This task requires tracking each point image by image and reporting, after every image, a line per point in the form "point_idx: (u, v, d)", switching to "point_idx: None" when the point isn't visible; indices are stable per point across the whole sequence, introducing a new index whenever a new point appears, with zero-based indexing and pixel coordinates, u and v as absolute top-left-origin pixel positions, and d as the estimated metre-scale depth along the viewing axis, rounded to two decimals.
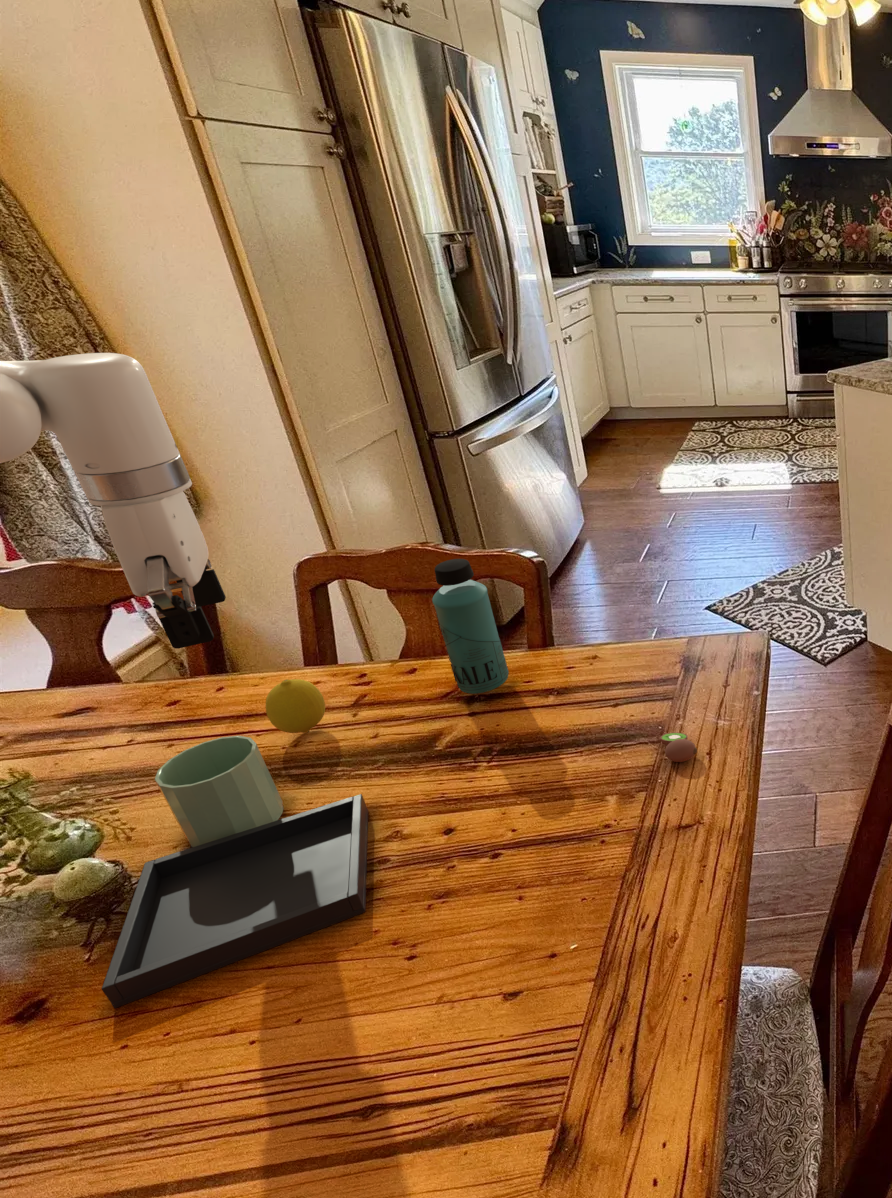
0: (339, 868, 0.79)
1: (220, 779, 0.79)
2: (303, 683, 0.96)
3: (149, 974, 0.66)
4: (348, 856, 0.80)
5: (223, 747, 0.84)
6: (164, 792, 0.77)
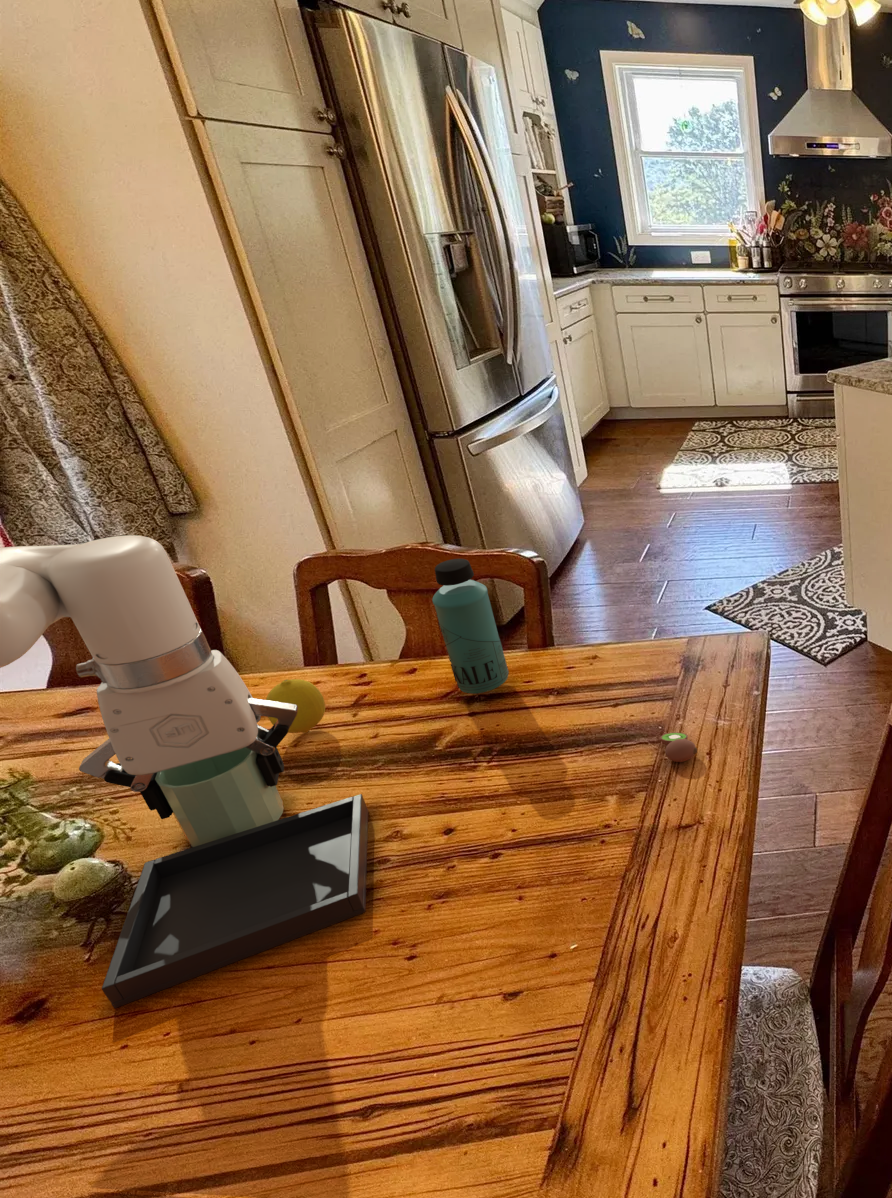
0: (339, 868, 0.79)
1: (220, 779, 0.79)
2: (303, 683, 0.96)
3: (149, 974, 0.66)
4: (348, 856, 0.80)
5: None
6: (164, 792, 0.77)
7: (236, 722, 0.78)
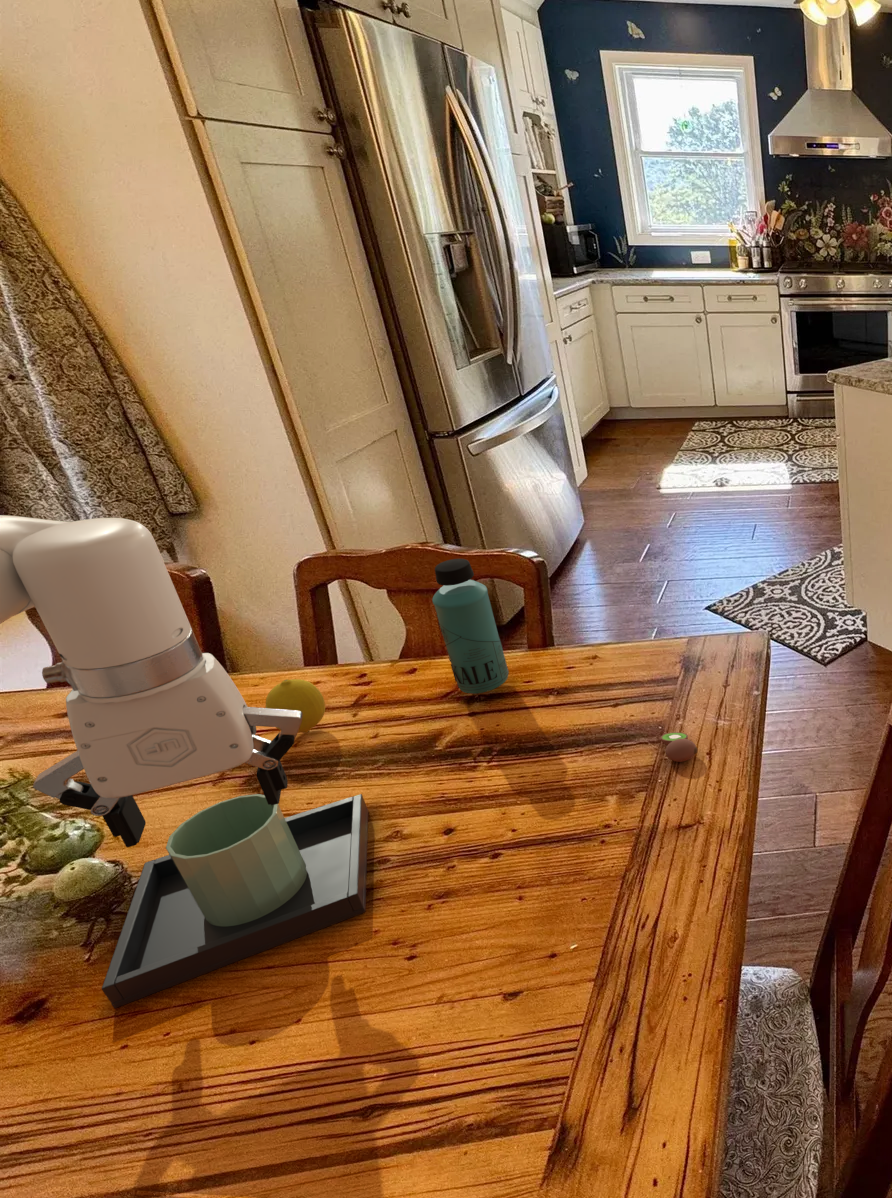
0: (339, 868, 0.79)
1: (239, 847, 0.70)
2: (303, 683, 0.96)
3: (149, 974, 0.66)
4: (348, 856, 0.80)
5: (241, 806, 0.76)
6: (176, 863, 0.69)
7: (229, 737, 0.68)
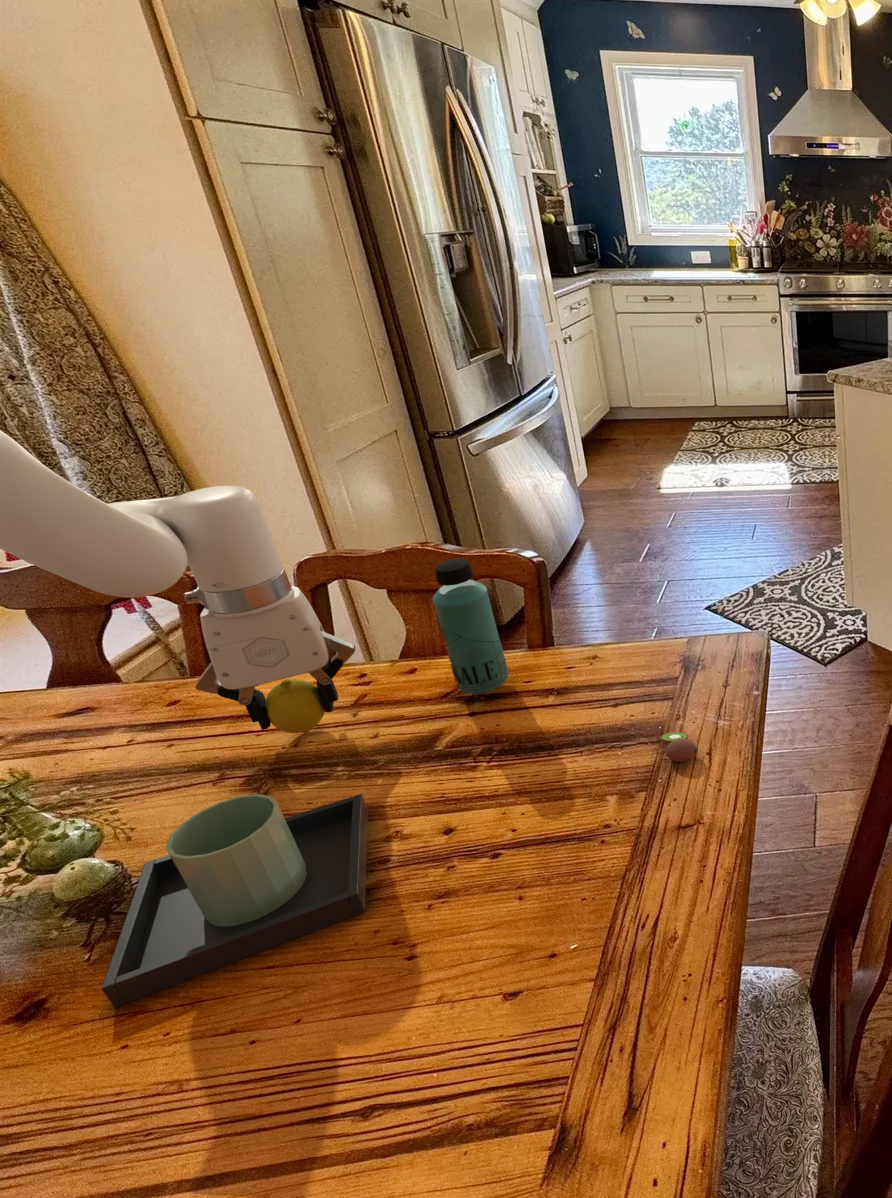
0: (339, 868, 0.79)
1: (239, 847, 0.70)
2: (303, 683, 0.96)
3: (149, 974, 0.66)
4: (348, 856, 0.80)
5: (241, 806, 0.76)
6: (176, 863, 0.69)
7: (312, 647, 0.93)
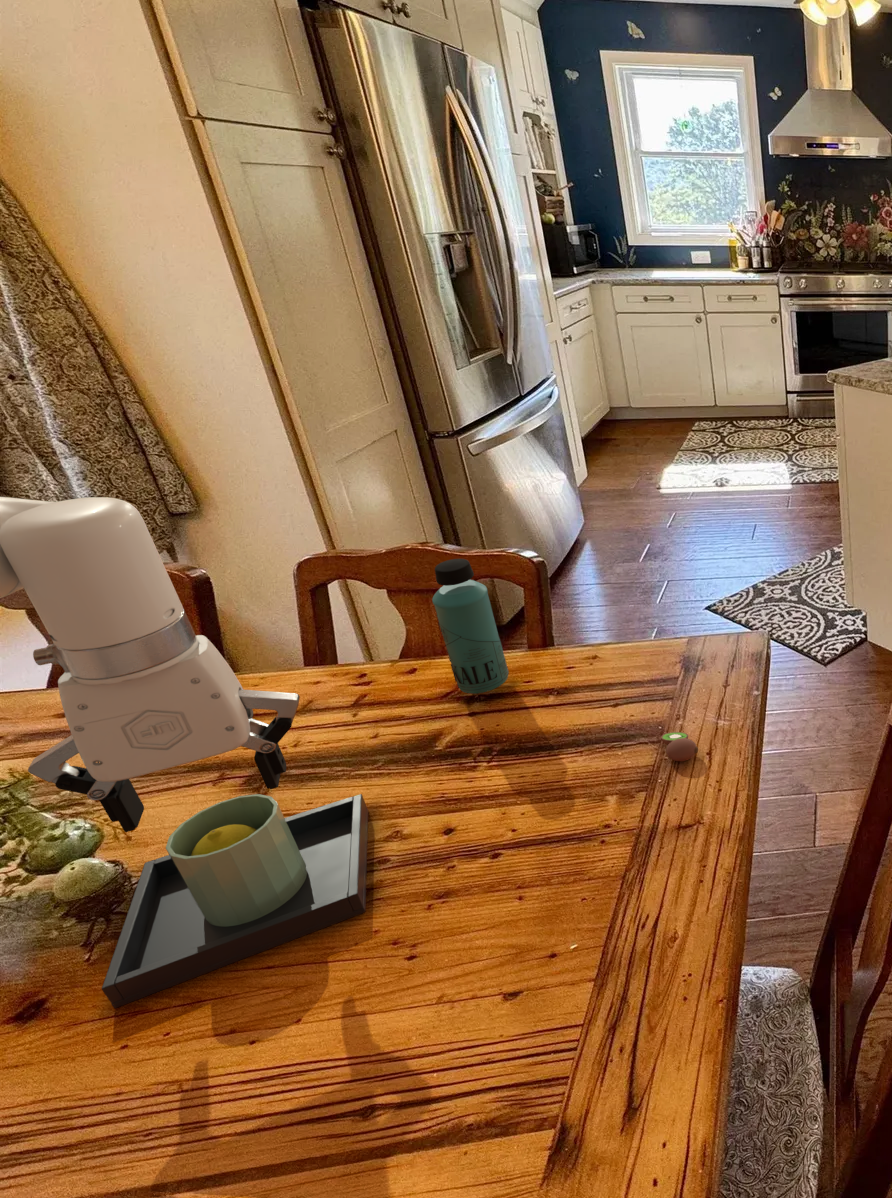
0: (339, 868, 0.79)
1: (239, 847, 0.70)
2: (238, 831, 0.73)
3: (149, 974, 0.66)
4: (348, 856, 0.80)
5: (241, 806, 0.76)
6: (176, 863, 0.69)
7: (224, 720, 0.67)
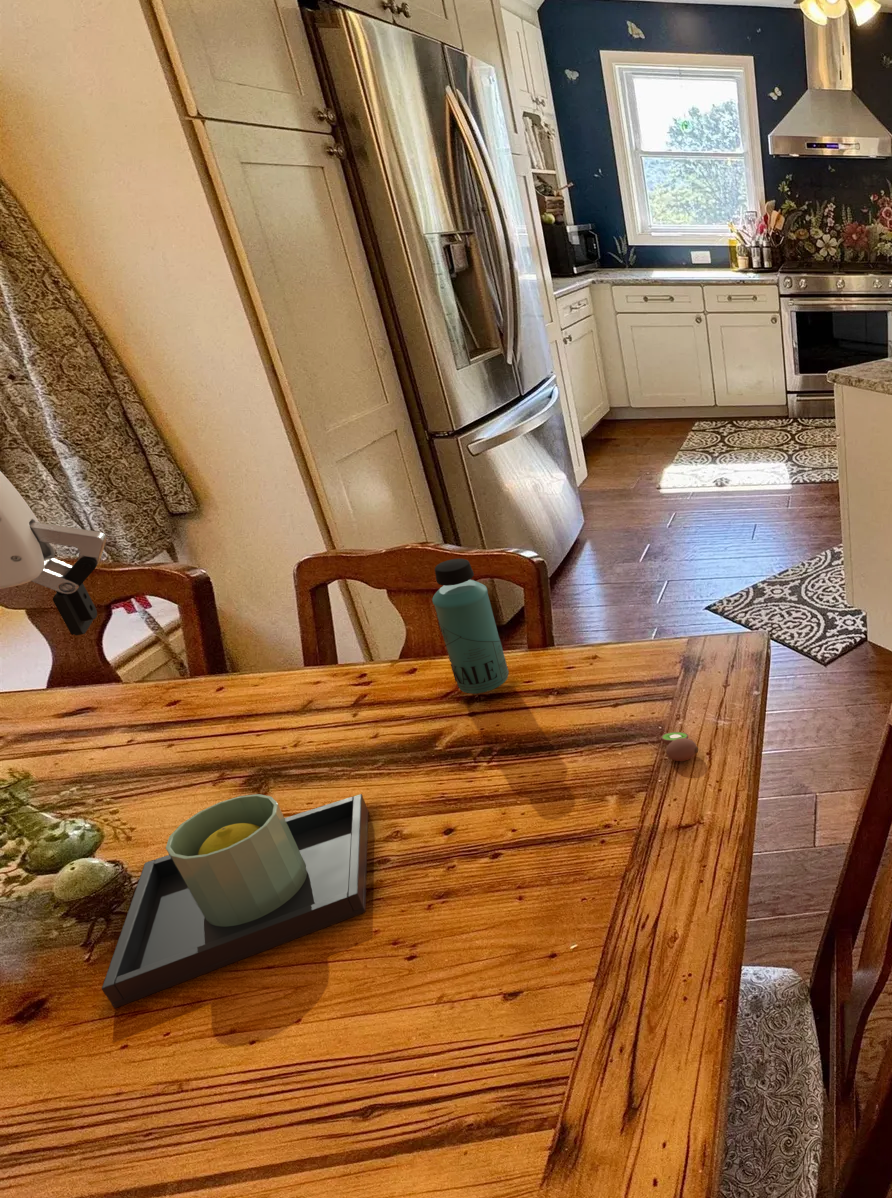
0: (339, 868, 0.79)
1: (239, 847, 0.70)
2: (247, 830, 0.73)
3: (149, 974, 0.66)
4: (348, 856, 0.80)
5: (241, 806, 0.76)
6: (176, 863, 0.69)
7: (9, 548, 0.62)
